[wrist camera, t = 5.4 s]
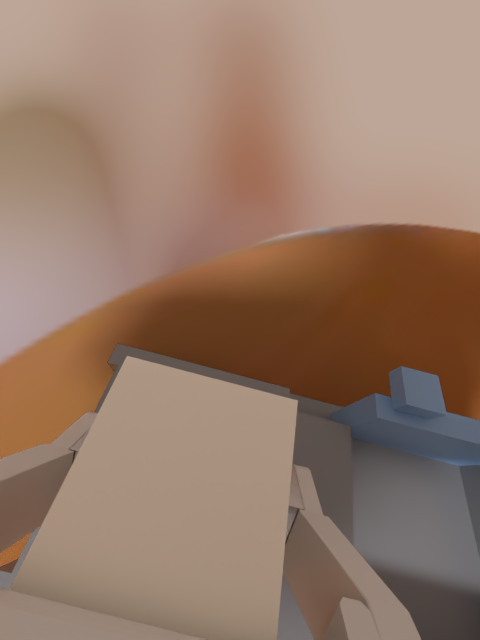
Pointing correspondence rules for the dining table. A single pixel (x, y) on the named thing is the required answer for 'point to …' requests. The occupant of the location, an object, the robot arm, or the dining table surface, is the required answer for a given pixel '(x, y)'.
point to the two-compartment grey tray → (381, 493)
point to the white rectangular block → (173, 508)
